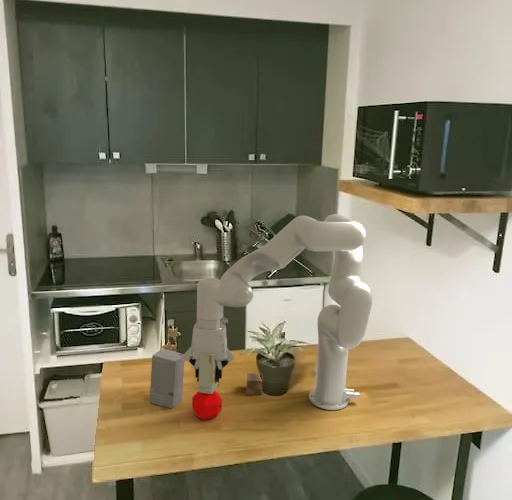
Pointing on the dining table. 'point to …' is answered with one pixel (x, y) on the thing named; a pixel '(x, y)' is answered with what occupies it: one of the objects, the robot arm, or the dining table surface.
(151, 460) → the dining table surface
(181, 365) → the skincare box
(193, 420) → the dining table surface
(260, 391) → the walnut block
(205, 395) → the ball
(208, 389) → the skincare box
